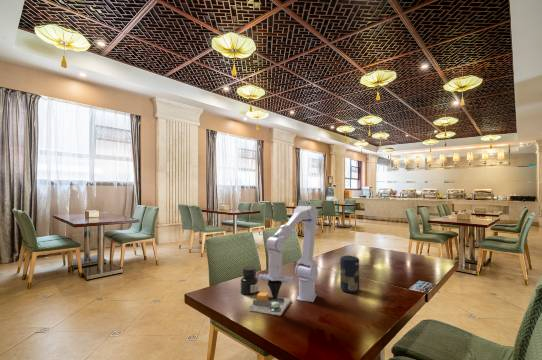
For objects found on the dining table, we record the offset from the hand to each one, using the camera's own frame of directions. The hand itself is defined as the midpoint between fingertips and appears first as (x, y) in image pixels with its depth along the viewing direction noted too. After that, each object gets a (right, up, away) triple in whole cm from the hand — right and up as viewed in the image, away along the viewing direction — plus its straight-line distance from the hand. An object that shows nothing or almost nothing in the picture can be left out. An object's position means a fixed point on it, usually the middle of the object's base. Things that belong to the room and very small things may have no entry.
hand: (275, 298), depth 112 cm
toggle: (-6, -5, +8) cm, 11 cm away
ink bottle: (-13, -7, +23) cm, 28 cm away
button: (0, -3, 0) cm, 3 cm away
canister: (+39, -8, +26) cm, 48 cm away
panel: (-2, -6, +7) cm, 9 cm away
